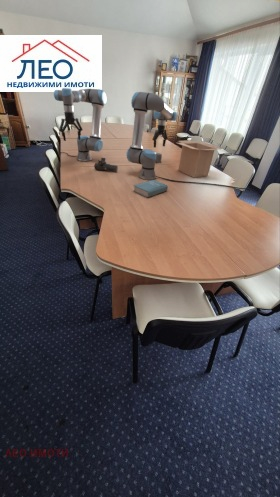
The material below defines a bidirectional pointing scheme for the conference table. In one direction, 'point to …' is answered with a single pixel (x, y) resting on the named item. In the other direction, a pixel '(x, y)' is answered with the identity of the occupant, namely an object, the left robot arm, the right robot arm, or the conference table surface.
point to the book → (150, 188)
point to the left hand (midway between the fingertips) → (72, 140)
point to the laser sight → (105, 166)
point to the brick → (158, 157)
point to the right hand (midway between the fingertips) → (159, 146)
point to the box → (196, 158)
